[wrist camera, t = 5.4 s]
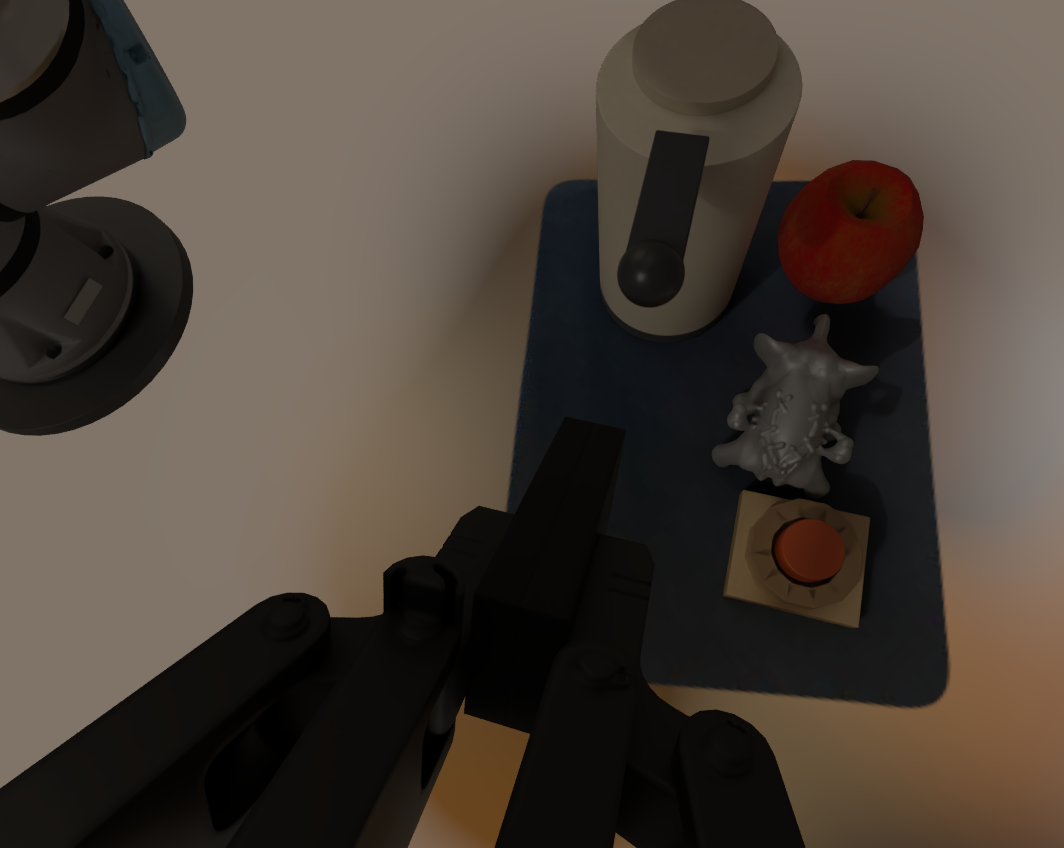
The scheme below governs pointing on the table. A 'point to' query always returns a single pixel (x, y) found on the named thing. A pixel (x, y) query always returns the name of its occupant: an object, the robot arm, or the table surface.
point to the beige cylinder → (701, 109)
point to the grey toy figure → (793, 412)
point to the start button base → (765, 580)
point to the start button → (810, 550)
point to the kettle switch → (663, 219)
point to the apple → (850, 231)
